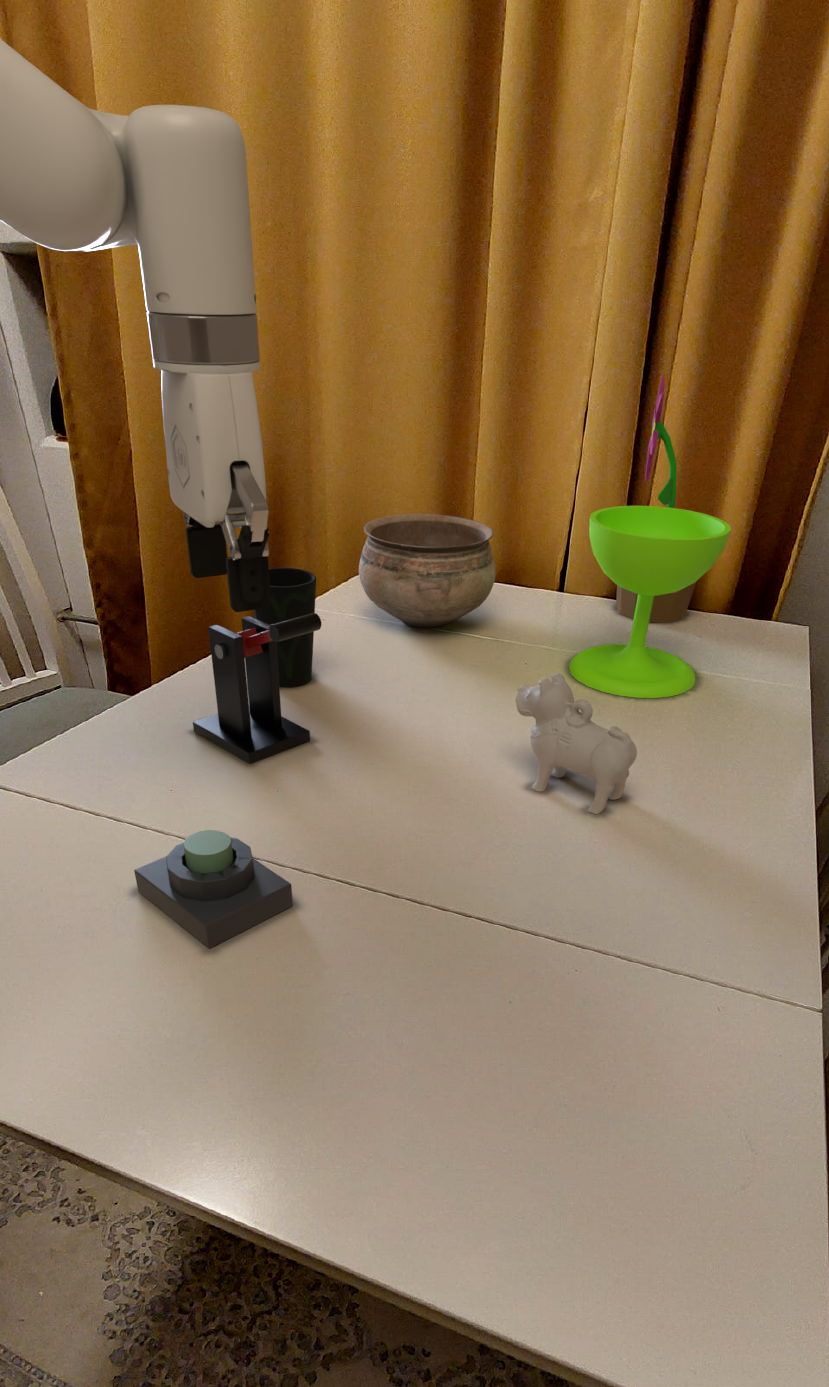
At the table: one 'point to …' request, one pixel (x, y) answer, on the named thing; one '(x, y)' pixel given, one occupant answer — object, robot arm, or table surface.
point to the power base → (214, 893)
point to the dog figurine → (574, 740)
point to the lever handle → (279, 632)
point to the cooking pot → (427, 567)
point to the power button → (208, 851)
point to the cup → (288, 602)
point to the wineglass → (647, 591)
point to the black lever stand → (238, 721)
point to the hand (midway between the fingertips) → (229, 591)
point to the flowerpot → (677, 602)
